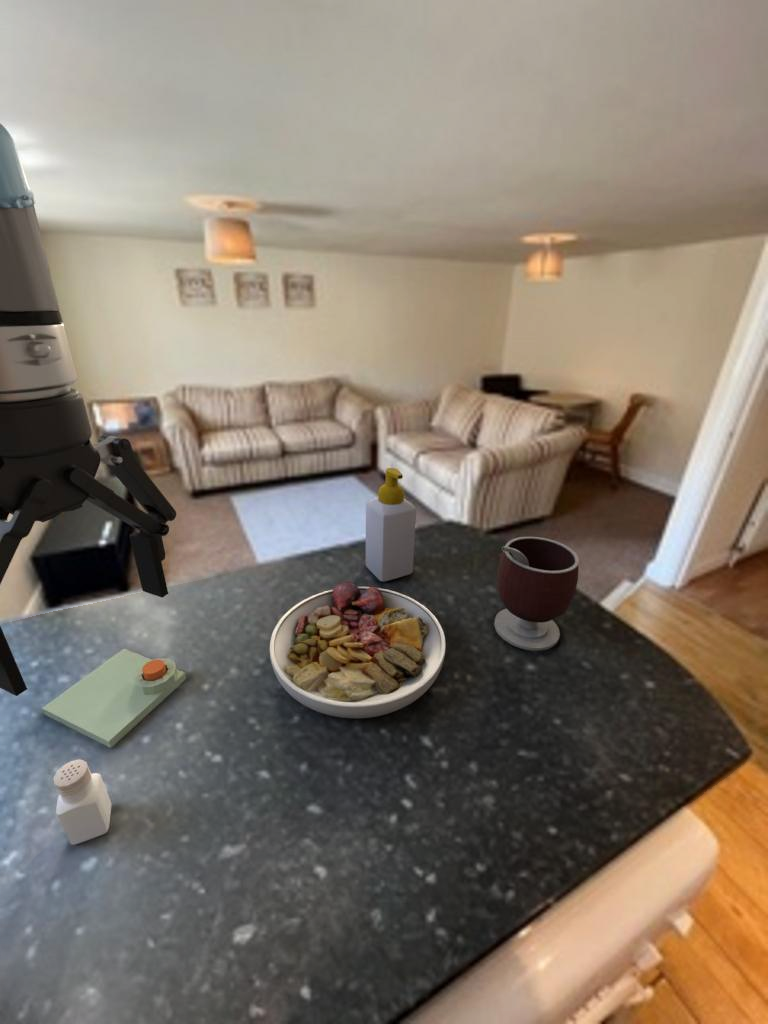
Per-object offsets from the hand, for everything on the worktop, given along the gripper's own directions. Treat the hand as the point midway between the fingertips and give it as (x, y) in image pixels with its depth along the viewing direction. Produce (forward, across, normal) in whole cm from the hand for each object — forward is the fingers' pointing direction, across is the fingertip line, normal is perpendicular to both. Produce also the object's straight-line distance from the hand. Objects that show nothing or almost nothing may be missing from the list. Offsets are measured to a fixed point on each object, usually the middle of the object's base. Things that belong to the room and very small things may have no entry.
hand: (93, 633), depth 40 cm
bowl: (+30, +36, -9) cm, 48 cm away
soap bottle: (+30, +65, -3) cm, 71 cm away
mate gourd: (+30, +56, -35) cm, 72 cm away
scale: (+30, +13, +22) cm, 39 cm away
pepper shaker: (+30, -2, +8) cm, 31 cm away
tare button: (+27, +17, +18) cm, 37 cm away
